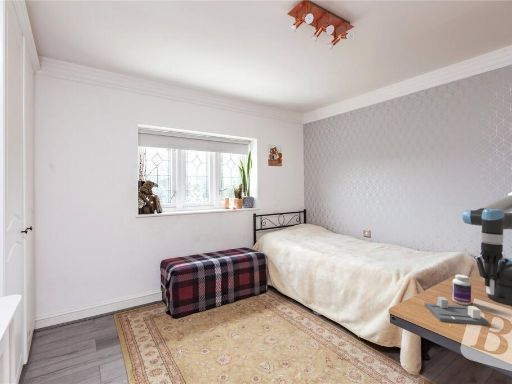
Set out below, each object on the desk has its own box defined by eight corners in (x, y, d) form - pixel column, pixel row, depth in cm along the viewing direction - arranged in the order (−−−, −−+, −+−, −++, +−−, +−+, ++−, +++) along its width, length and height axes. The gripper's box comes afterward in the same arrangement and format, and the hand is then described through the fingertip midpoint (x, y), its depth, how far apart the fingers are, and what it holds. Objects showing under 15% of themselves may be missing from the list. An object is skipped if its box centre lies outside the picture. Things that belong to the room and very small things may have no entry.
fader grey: (443, 304, 137) (444, 297, 136) (448, 308, 133) (448, 300, 133) (437, 304, 137) (437, 296, 137) (441, 307, 133) (441, 299, 133)
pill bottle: (474, 306, 139) (475, 279, 139) (457, 305, 141) (457, 278, 140) (465, 300, 147) (466, 274, 147) (449, 298, 148) (449, 273, 148)
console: (467, 308, 136) (467, 305, 136) (489, 325, 120) (489, 321, 120) (424, 305, 140) (424, 302, 140) (440, 321, 124) (440, 317, 124)
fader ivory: (474, 314, 126) (475, 306, 126) (480, 318, 122) (480, 310, 122) (467, 314, 127) (468, 305, 127) (473, 318, 123) (473, 309, 123)
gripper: (502, 241, 125) (500, 291, 125) (470, 240, 127) (469, 289, 128) (514, 245, 118) (512, 298, 118) (481, 243, 120) (479, 295, 120)
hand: (490, 293), depth 123 cm, fingers closed
